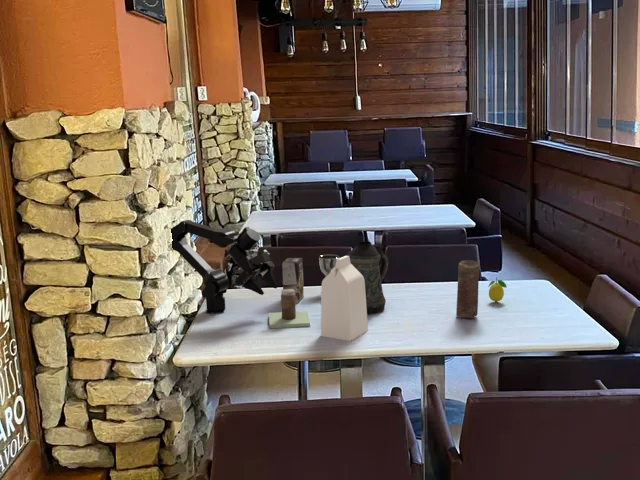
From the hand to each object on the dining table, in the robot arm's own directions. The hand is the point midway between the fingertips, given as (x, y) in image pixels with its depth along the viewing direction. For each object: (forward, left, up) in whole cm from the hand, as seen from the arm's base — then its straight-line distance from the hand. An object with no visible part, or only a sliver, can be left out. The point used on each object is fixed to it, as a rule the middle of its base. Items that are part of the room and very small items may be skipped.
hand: (269, 291), depth 256 cm
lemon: (+85, +6, -11) cm, 86 cm away
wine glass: (+24, +31, -11) cm, 41 cm away
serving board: (+6, -4, -10) cm, 13 cm away
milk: (+24, -20, -11) cm, 33 cm away
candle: (+69, -10, -11) cm, 71 cm away
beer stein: (+35, +8, -11) cm, 38 cm away
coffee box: (+9, +23, -11) cm, 27 cm away
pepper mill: (+6, -4, -9) cm, 12 cm away
